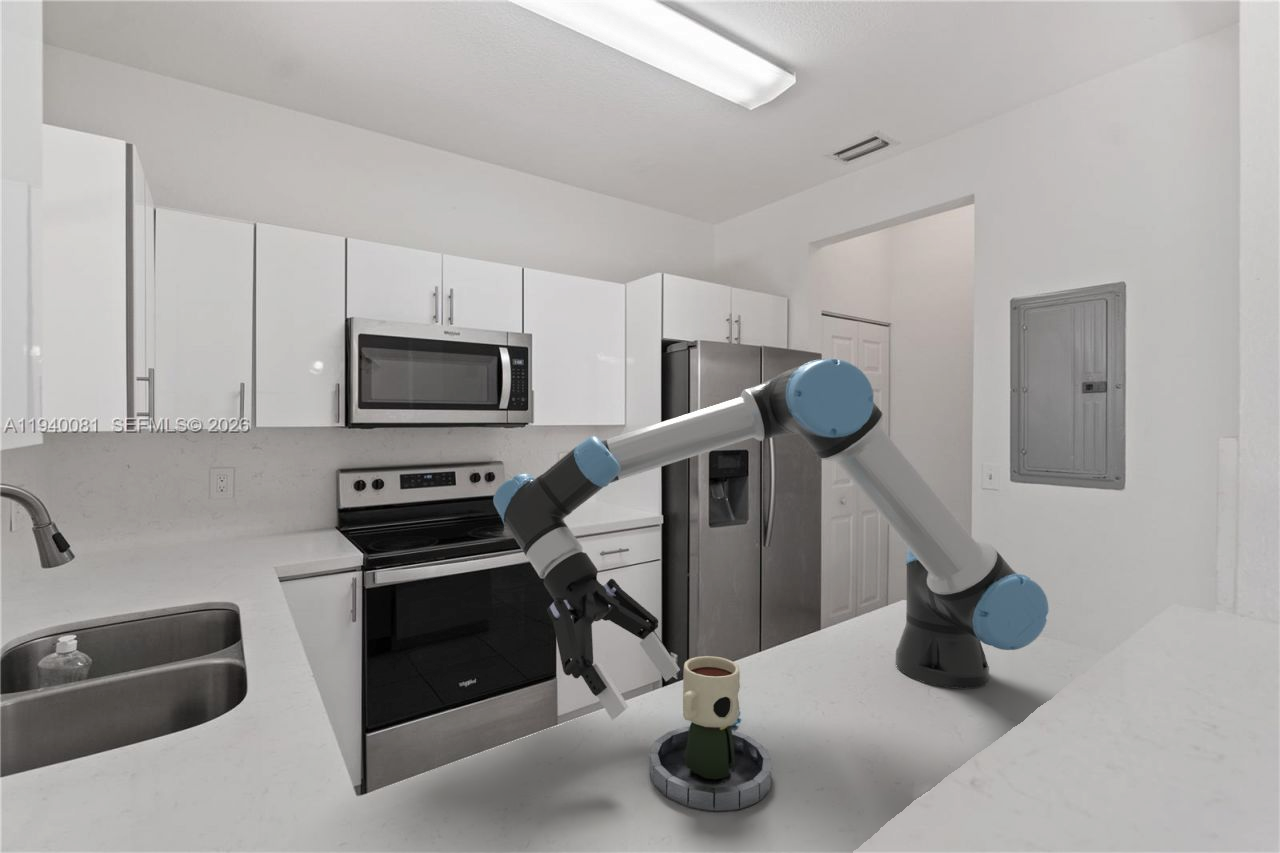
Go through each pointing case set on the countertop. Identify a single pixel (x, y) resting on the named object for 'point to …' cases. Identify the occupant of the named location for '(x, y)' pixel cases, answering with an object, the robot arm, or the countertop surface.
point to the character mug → (710, 714)
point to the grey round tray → (710, 793)
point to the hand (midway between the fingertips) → (649, 693)
